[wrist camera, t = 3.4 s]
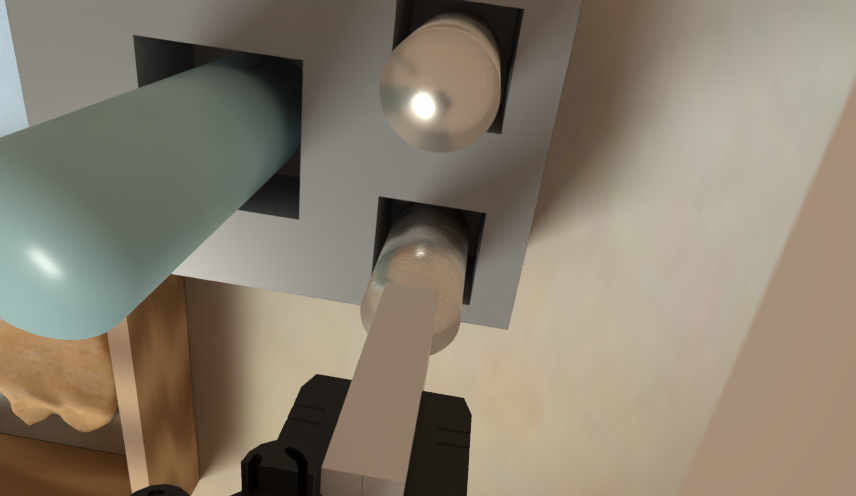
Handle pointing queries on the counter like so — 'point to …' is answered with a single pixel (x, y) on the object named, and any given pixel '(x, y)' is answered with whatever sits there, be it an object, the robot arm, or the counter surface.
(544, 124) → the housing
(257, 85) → the cartridge
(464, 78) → the plunger
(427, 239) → the plunger
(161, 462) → the wooden tray
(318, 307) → the counter surface
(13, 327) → the bone
